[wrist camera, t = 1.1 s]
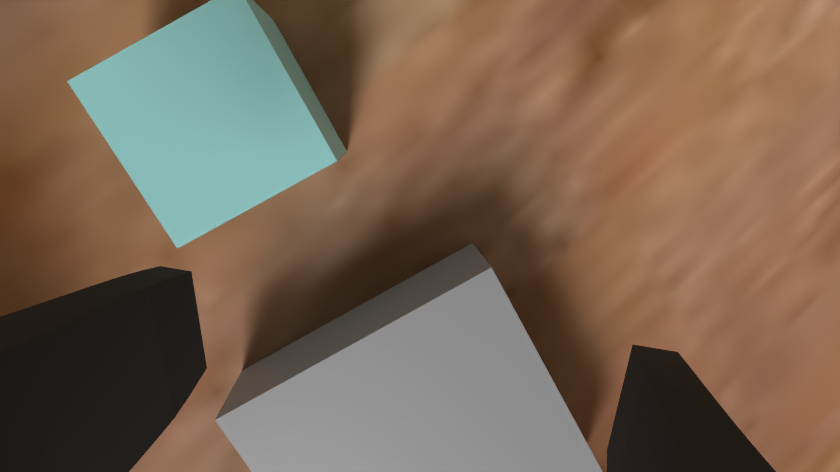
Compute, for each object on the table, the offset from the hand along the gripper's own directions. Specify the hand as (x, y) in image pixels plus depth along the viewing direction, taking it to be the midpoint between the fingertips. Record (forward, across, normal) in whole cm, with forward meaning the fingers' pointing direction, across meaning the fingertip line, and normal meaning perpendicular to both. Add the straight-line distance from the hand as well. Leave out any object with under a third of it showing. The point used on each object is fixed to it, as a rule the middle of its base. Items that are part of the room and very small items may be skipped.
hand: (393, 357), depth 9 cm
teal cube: (+10, +8, -1) cm, 13 cm away
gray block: (+10, +2, +10) cm, 14 cm away
